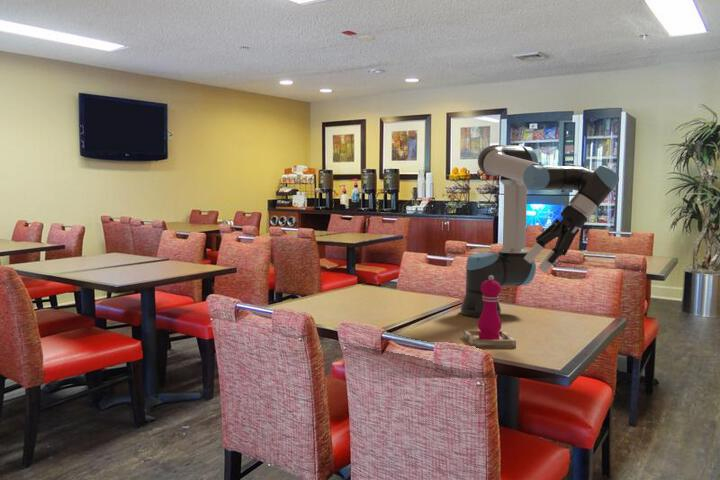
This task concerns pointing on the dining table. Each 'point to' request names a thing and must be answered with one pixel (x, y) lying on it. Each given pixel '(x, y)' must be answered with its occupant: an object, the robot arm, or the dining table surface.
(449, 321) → the dining table surface
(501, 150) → the robot arm
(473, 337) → the tray
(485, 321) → the pepper mill
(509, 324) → the dining table surface
